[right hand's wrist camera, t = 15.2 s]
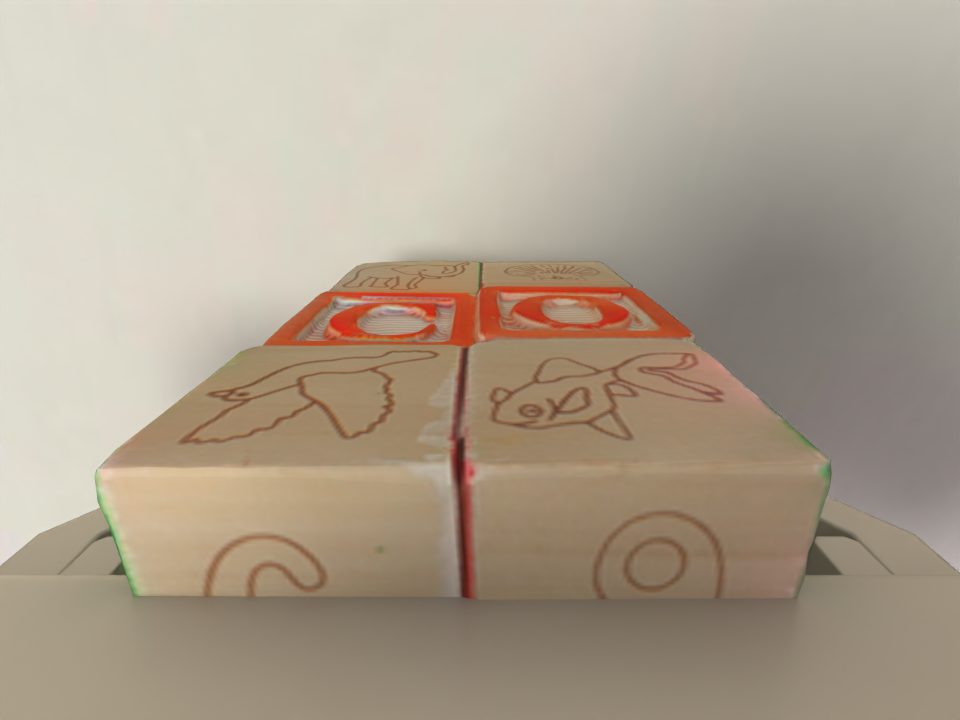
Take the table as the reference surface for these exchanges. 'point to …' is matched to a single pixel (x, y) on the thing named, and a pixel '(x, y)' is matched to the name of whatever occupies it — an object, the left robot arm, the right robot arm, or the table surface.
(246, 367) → the stack of blocks
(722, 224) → the table surface
